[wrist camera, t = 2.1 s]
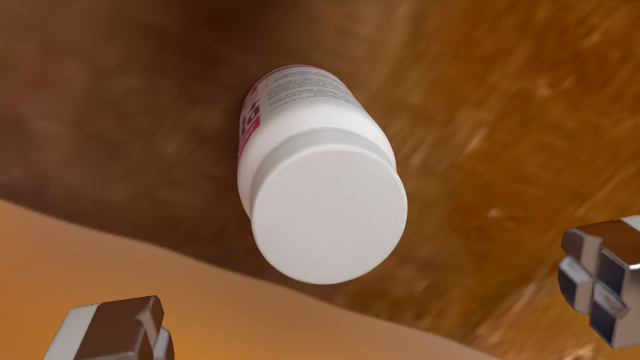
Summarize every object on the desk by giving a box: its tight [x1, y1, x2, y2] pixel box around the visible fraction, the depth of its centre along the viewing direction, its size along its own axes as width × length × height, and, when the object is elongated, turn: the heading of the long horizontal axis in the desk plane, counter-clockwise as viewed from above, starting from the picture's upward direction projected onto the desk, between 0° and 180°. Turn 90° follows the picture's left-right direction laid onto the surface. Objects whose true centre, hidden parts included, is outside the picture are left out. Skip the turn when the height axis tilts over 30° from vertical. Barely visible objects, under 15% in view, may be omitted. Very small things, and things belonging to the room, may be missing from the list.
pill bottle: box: [237, 65, 407, 284], centre depth 16 cm, size 5×5×8 cm
